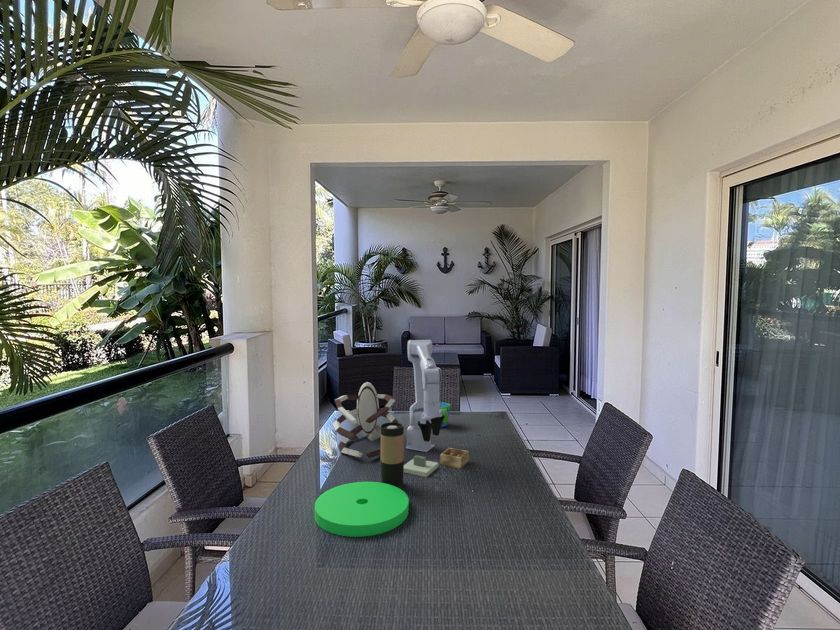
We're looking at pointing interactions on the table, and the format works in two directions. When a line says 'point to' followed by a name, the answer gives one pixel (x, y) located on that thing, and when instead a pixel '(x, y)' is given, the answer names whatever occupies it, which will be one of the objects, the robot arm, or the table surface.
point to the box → (454, 458)
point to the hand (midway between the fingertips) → (431, 438)
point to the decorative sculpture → (363, 417)
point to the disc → (361, 509)
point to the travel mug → (392, 454)
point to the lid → (420, 466)
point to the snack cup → (444, 412)
